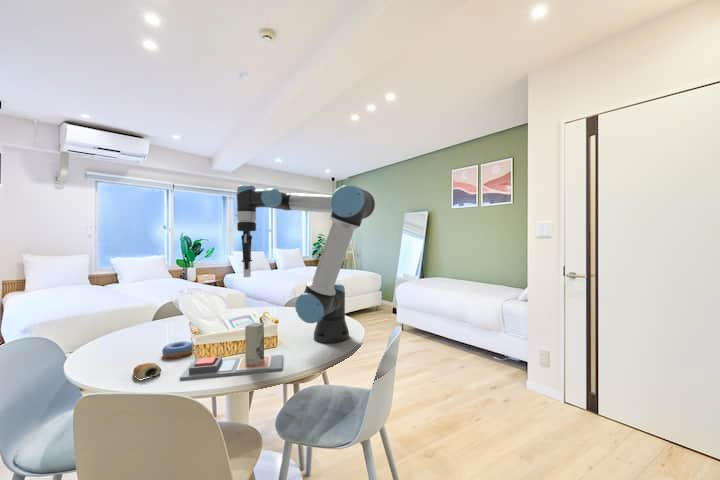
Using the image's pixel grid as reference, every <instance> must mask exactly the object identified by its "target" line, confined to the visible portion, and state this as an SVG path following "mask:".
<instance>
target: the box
mask: <svg viewBox="0 0 720 480" xmlns="http://www.w3.org/2000/svg"><path fill="white" fill-rule="evenodd" d="M264 326H265V323H264V322H252V323H249V324H248V325H245V327H244V329H245V330H244V331H245V333H244V334H245V335H244V337H245V347H244V350H245V357H244V358H245V365H255V366H257V365H259V364H260V363H261V362H263V361H264V356H265V327H264Z"/></svg>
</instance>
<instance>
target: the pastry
mask: <svg viewBox="0 0 720 480" xmlns="http://www.w3.org/2000/svg"><path fill="white" fill-rule="evenodd" d="M161 372H162V368H161V366H159V364H157V363H154V362H148V363H147V362H146V363H144V364H138V365H136V366H135V367H134V369H133V376H136V377H137V378H138V379H143V378H147V377H152V376H155V377H157V376H159V375H160V374H161ZM136 377H135V378H136ZM137 378H136V379H137ZM152 378H153V377H152ZM138 379H137V380H138Z"/></svg>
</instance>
